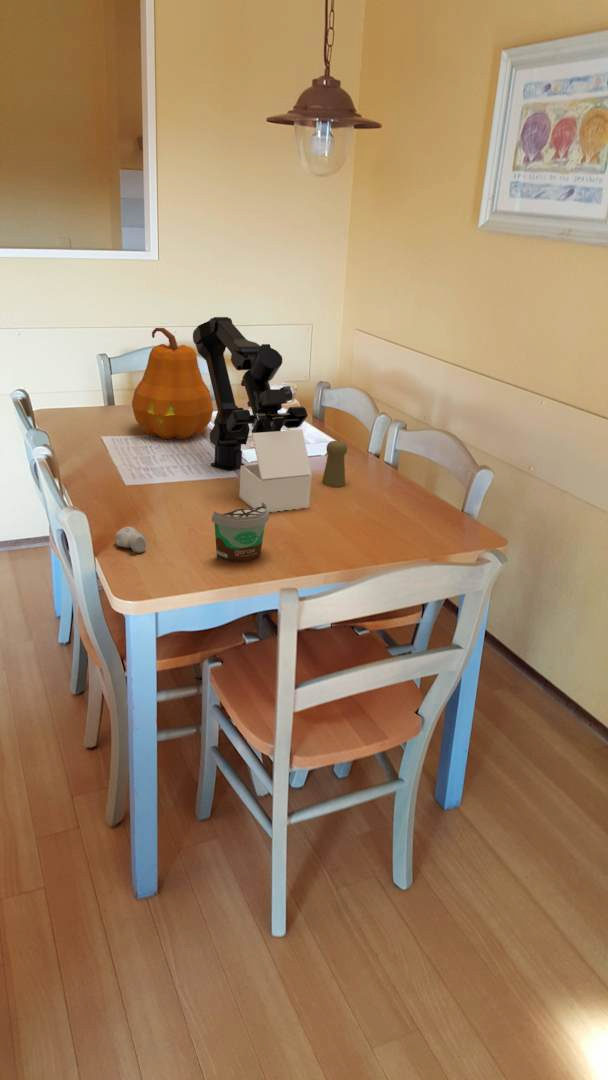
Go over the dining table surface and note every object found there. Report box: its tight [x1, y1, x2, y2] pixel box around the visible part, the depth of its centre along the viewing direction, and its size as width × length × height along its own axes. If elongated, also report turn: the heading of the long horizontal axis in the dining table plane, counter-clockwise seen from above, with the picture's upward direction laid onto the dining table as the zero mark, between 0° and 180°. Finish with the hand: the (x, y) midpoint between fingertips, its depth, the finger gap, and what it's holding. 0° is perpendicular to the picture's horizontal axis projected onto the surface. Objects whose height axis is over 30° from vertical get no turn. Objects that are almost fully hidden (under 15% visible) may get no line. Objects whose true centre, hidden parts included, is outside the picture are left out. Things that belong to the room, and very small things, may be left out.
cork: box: [321, 440, 348, 488], centre depth 206 cm, size 6×6×11 cm
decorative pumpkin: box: [131, 327, 214, 440], centre depth 234 cm, size 24×24×30 cm
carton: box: [238, 463, 312, 514], centre depth 191 cm, size 11×13×8 cm
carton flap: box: [251, 429, 312, 480], centre depth 185 cm, size 11×13×1 cm
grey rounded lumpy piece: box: [115, 526, 147, 554], centre depth 163 cm, size 4×8×5 cm
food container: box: [210, 502, 270, 564], centre depth 161 cm, size 12×6×10 cm, turn 126°
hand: (277, 451), depth 188 cm, fingers closed
